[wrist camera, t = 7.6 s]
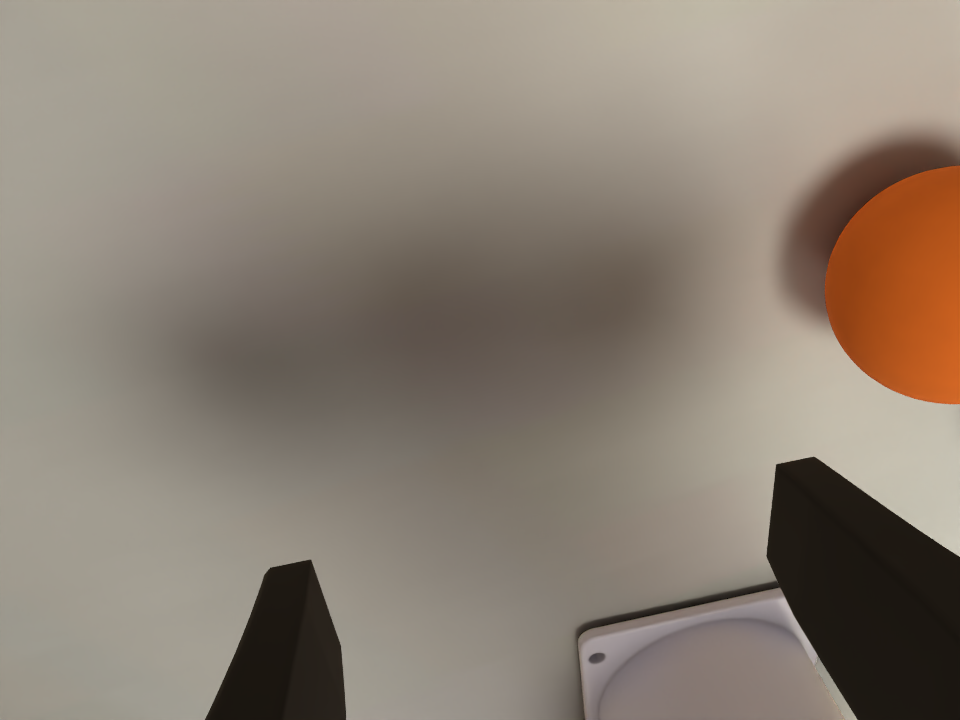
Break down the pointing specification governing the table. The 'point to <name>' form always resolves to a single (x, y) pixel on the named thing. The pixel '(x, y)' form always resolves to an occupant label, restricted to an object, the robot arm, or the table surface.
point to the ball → (902, 287)
